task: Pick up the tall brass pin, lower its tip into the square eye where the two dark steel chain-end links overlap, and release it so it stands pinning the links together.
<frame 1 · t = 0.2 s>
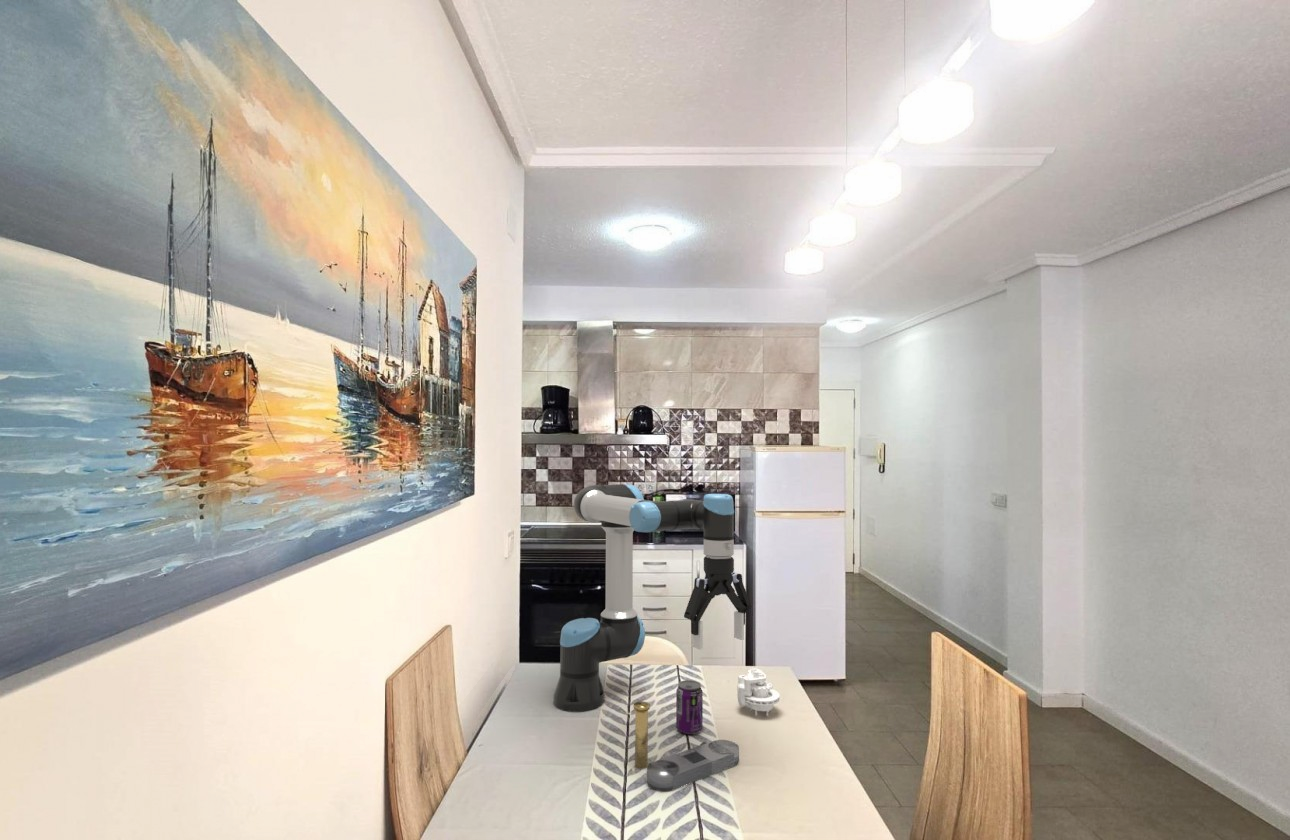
hand: (718, 643, 145), 27 cm above the table, fingers open, 13 cm apart
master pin: (641, 765, 140), on the table
spring clip: (710, 748, 148), on the table
beverage can: (689, 730, 159), on the table
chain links: (694, 770, 138), on the table
mechanical part: (758, 712, 170), on the table
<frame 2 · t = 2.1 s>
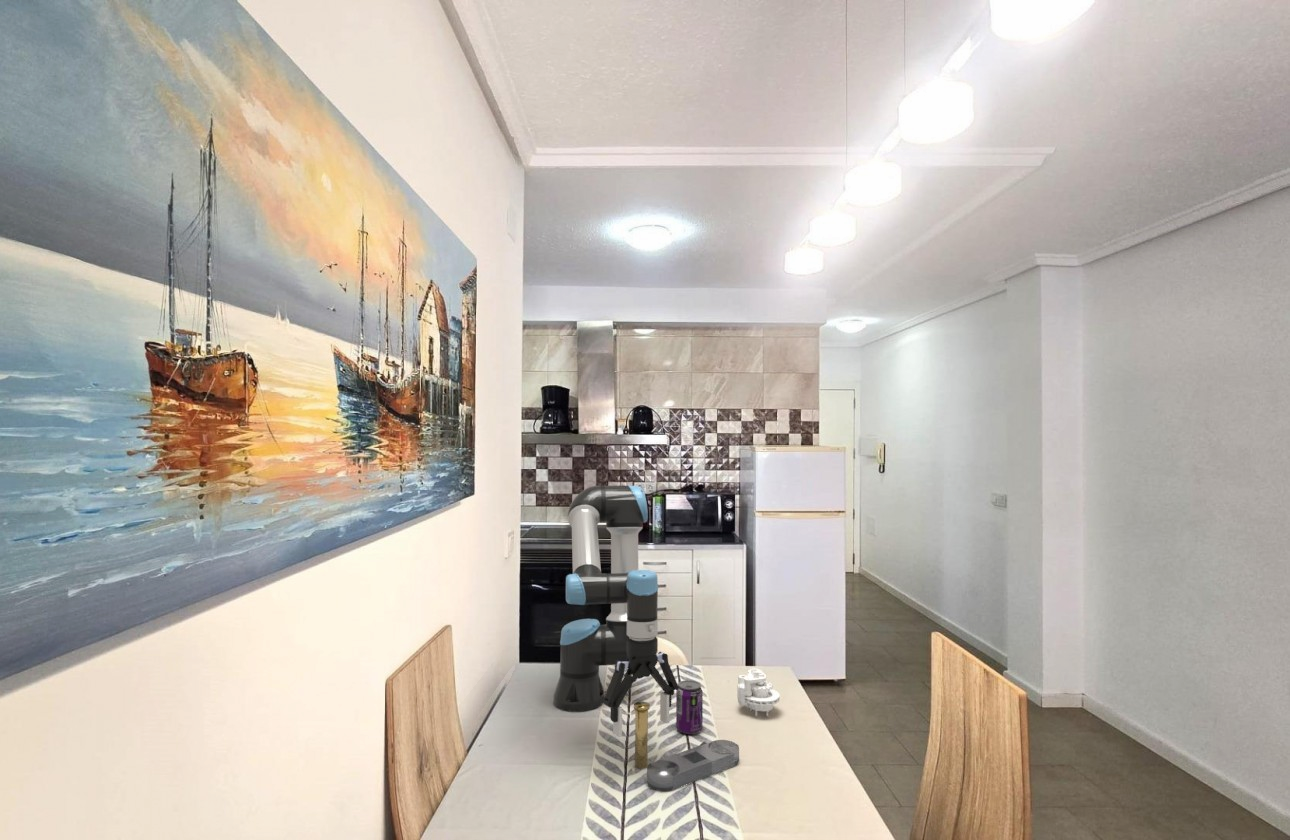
hand: (641, 728, 140), 9 cm above the table, fingers open, 13 cm apart
nothing on the table moved.
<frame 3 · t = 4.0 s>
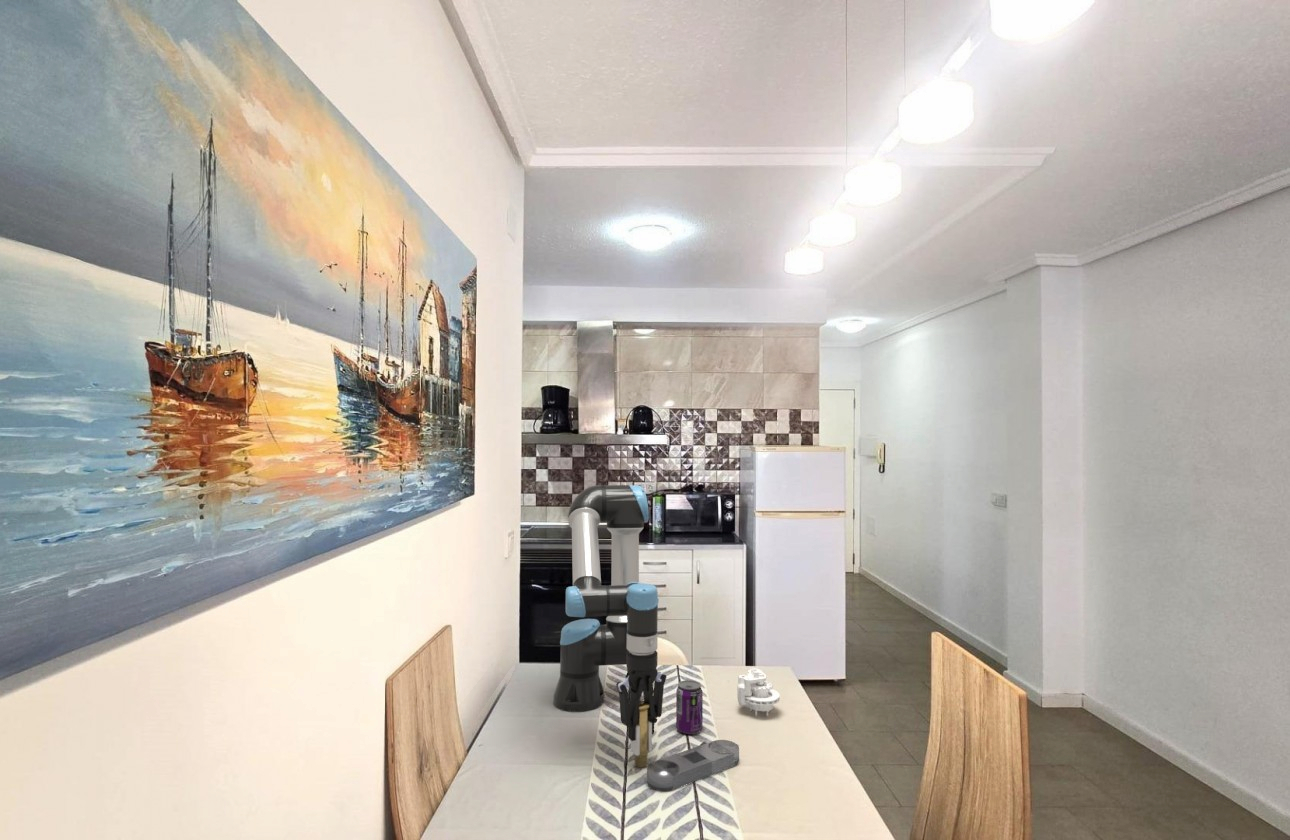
hand: (641, 750, 141), 3 cm above the table, fingers closed on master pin, 3 cm apart
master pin: (641, 763, 140), on the table, touching gripper
everything else where it was.
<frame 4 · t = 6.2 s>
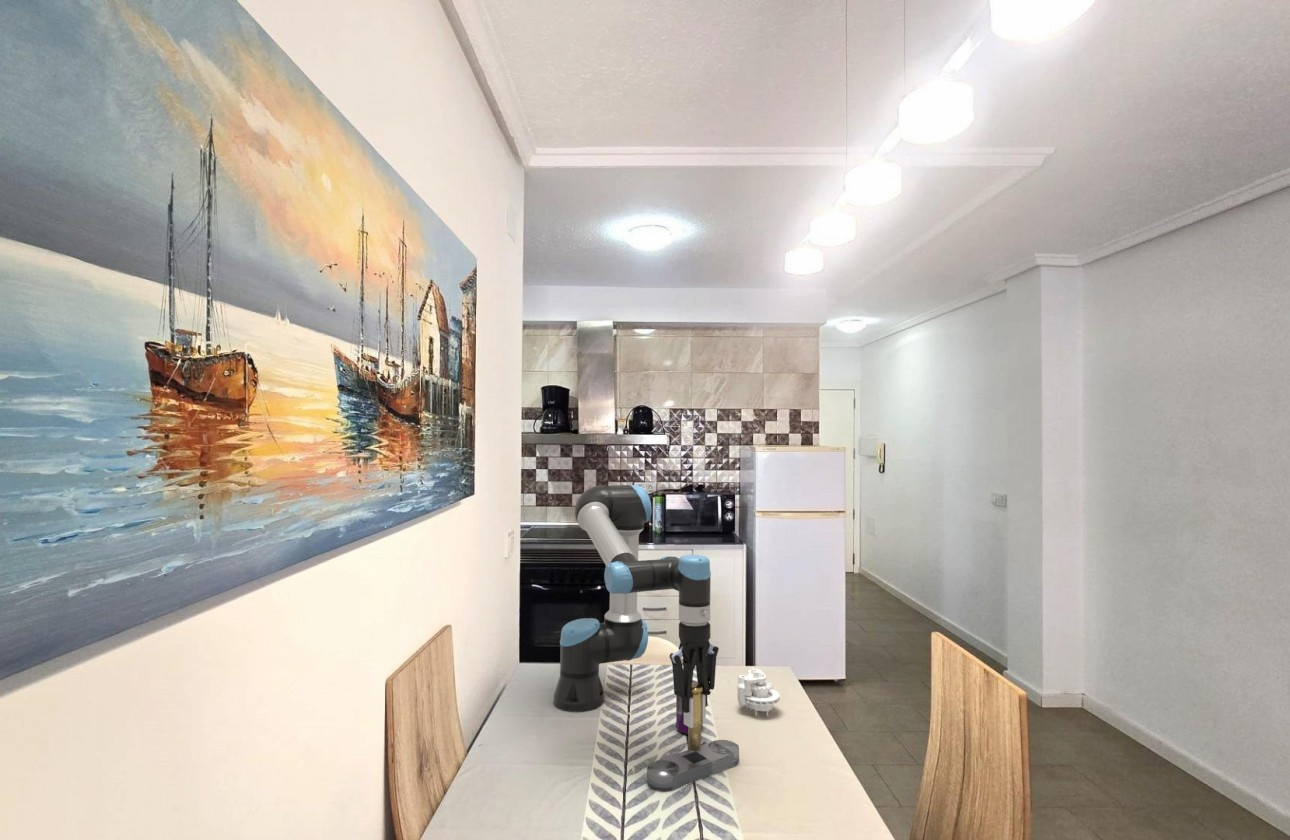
hand: (694, 723, 139), 11 cm above the table, fingers closed on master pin, 3 cm apart
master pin: (694, 748, 138), point 5 cm above the table, touching gripper
everything else where it was.
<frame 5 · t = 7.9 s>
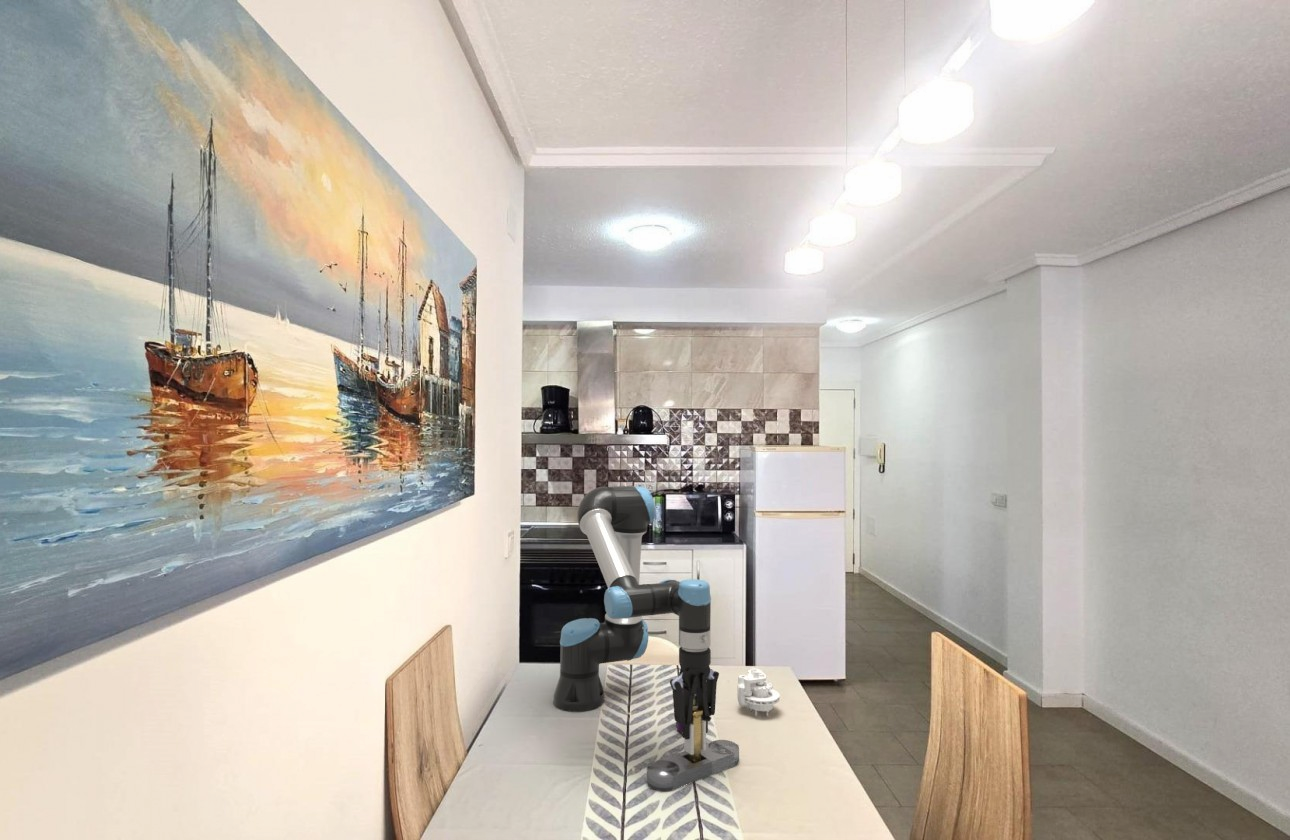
hand: (695, 749, 138), 5 cm above the table, fingers closed on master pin, 3 cm apart
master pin: (694, 771, 138), resting in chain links, touching gripper
everything else where it was.
when the fingers open (5 cm above the table, at t = 8.5 s): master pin stays where it is, resting in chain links.
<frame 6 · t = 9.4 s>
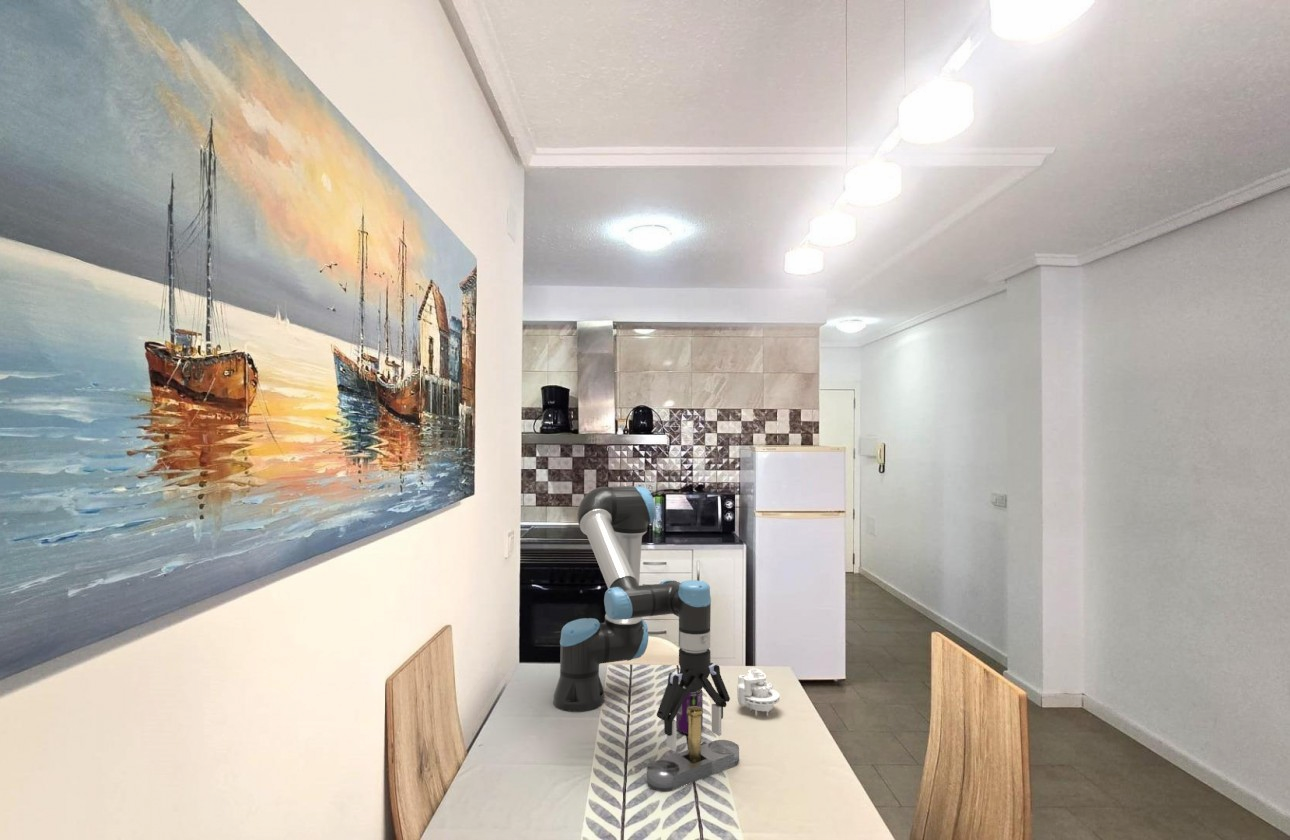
hand: (694, 741, 138), 7 cm above the table, fingers open, 13 cm apart
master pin: (694, 770, 138), resting in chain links
everything else where it was.
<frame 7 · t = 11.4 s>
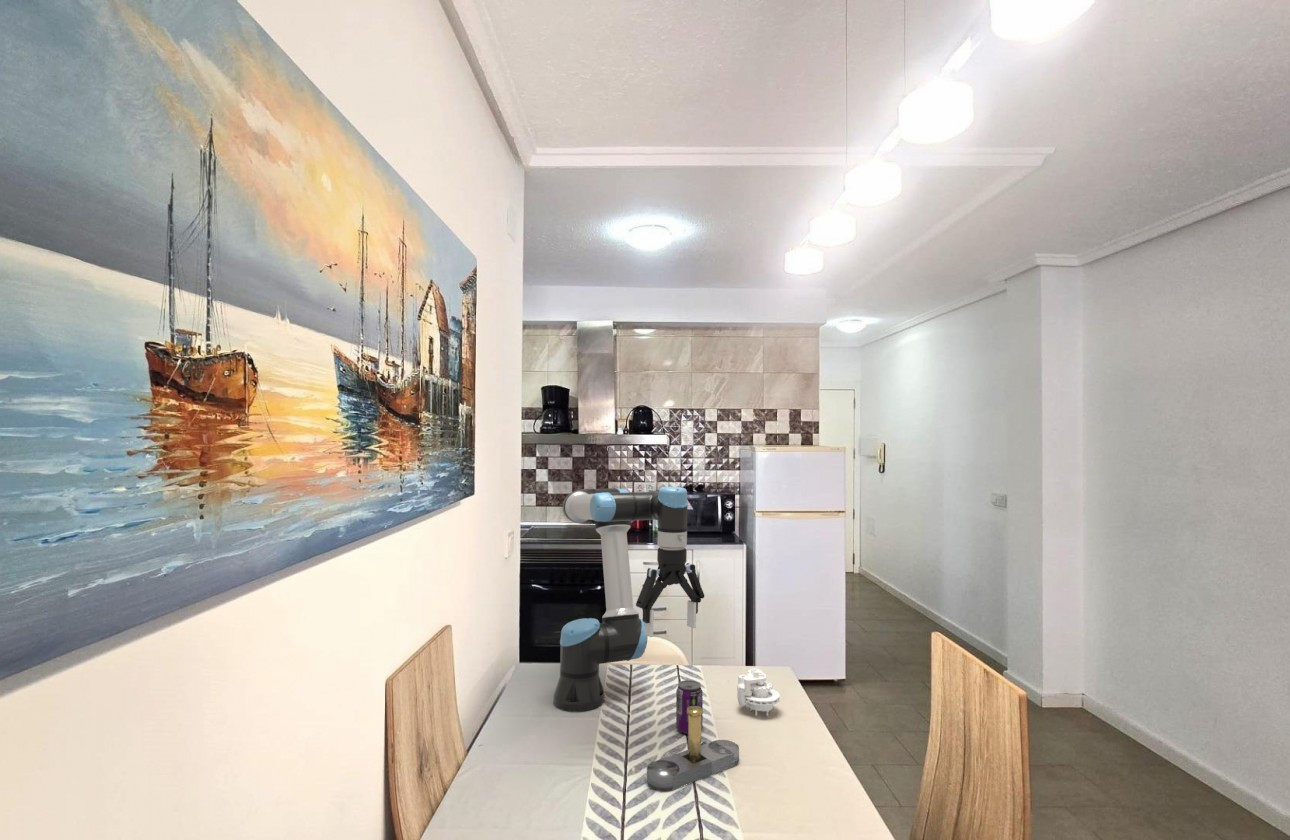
hand: (670, 631, 151), 29 cm above the table, fingers open, 13 cm apart
nothing on the table moved.
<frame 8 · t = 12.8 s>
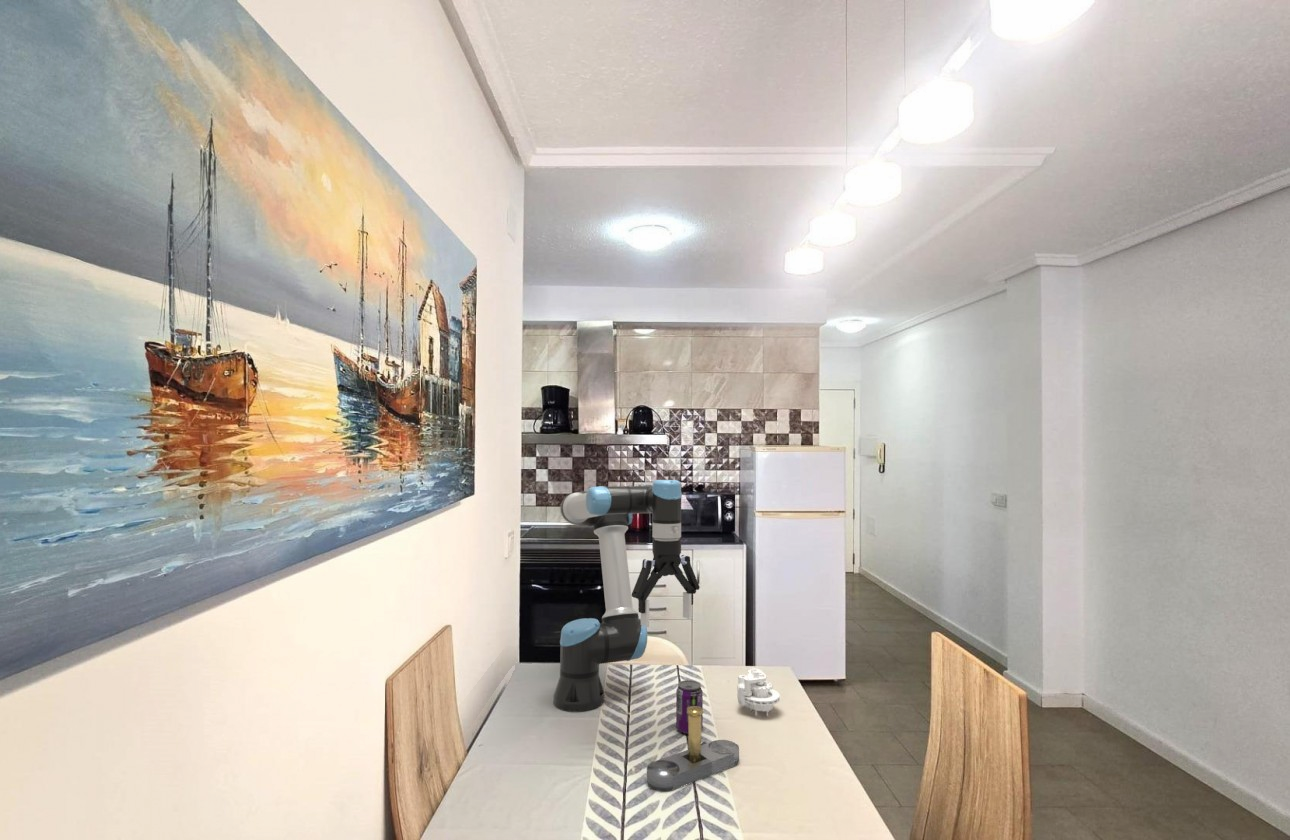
hand: (666, 621, 153), 31 cm above the table, fingers open, 13 cm apart
nothing on the table moved.
at the end: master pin 0.1 cm off-centre on the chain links, point 0.0 cm above the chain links's base; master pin tilted 0°; the gripper is holding nothing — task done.
